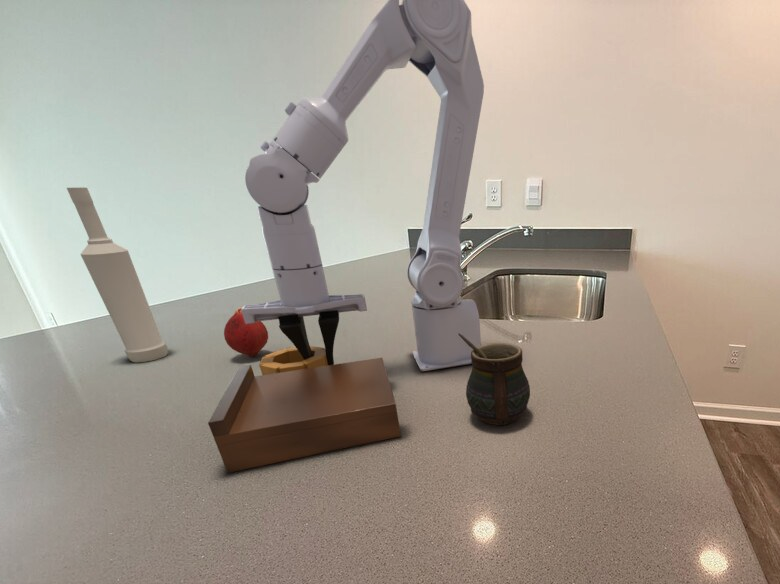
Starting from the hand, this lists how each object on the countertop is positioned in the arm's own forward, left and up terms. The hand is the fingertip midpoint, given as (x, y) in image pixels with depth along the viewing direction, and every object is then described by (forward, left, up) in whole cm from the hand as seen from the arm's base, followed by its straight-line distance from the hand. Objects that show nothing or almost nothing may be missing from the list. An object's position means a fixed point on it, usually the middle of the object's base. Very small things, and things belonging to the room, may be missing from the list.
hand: (321, 366), depth 57 cm
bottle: (+27, -21, -2) cm, 34 cm away
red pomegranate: (+11, -14, -2) cm, 18 cm away
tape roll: (+3, 0, -1) cm, 3 cm away
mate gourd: (-19, +20, -2) cm, 28 cm away
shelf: (0, +13, -2) cm, 13 cm away
